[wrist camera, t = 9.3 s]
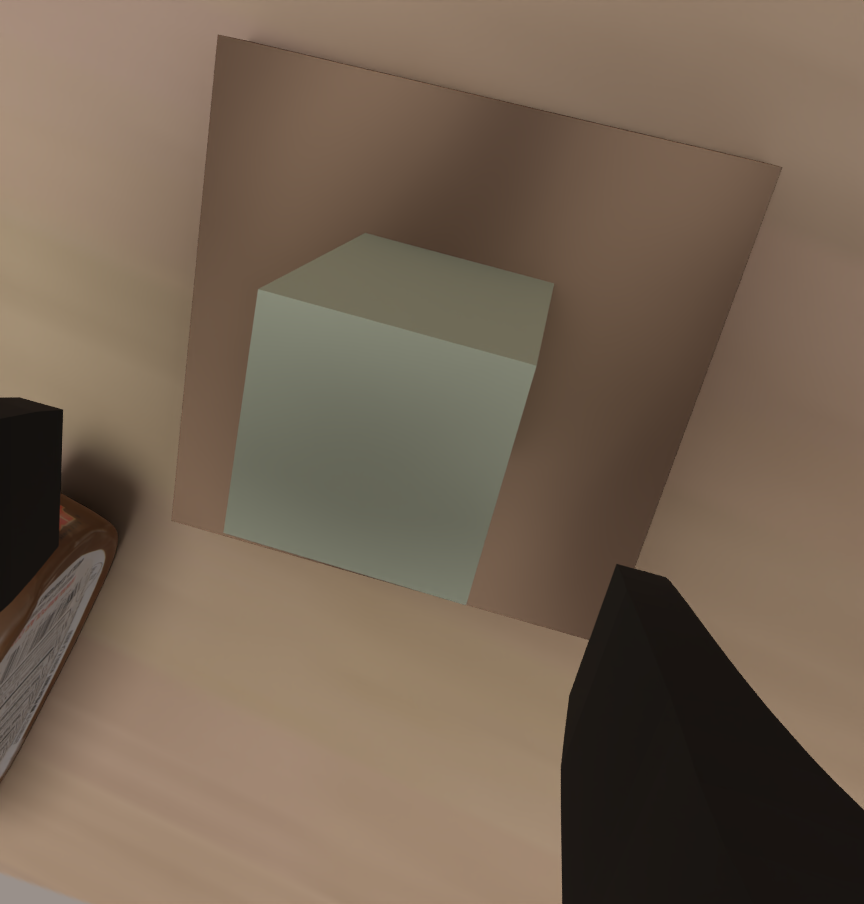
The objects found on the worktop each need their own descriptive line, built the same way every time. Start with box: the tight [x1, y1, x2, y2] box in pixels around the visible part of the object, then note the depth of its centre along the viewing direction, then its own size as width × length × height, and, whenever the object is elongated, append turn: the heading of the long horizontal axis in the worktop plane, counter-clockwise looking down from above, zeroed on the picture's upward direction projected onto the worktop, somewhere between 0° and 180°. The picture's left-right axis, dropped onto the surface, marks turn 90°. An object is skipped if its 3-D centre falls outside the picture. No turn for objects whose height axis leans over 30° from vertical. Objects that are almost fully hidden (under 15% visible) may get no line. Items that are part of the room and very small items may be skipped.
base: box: [172, 35, 782, 640], centre depth 18 cm, size 11×11×2 cm
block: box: [223, 233, 554, 605], centre depth 15 cm, size 4×4×6 cm
